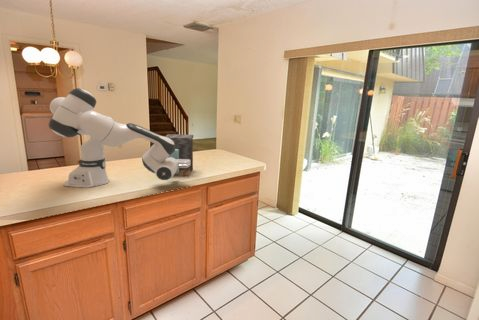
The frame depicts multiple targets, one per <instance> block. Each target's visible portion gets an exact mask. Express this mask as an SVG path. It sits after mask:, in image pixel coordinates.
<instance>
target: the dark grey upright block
mask: <svg viewBox="0 0 479 320" xmlns="http://www.w3.org/2000/svg"><path fill="white" fill-rule="evenodd" d="M164 136H165V137H168V138H170V139H171V140H172V141H173V142H174V143H175V149H179V159H189V160H190V161H191V165H190V166H189V167H188V168H179V173H178V174H177V173H175V174H174V176H173V177H184V176H187V177H189V175H190V173H191V172H193V170H194V160H193V159H194V156H193V155H194V152H193V151H194V147H193V145H194V143H193V142H194V141H193V138H194V134H178V133H175V134H174V133H173V134H172V133H171V134H170V133H167V134H166V135H164ZM169 157H170V156H169Z"/></svg>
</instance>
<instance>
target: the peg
mask: <svg viewBox="0 0 479 320" xmlns="http://www.w3.org/2000/svg"><path fill="white" fill-rule="evenodd" d="M170 157H172V158H175V159H179V149H175V152H174V153H172V154H171V155H170ZM175 173H177V174H178V173H179V168H178V170H177V171H176V172H175Z"/></svg>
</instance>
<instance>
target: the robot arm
mask: <svg viewBox="0 0 479 320" xmlns="http://www.w3.org/2000/svg"><path fill="white" fill-rule="evenodd" d="M96 104H97V99H96V98H95V97H94V95H93V94H92V93H91V92H89V91H88V90H85V89H83V88H79V87H78V88H76V87H75V88H74V89H72V90H70V92H68V95H66V97H65V96H59V97H55V98H54V99H52V100H51V102H50V104H49V110H50V112H51V113H52V115H53V116H52V118H50V120H49V121H48V128H49V129H51V132H53V133H54V134H56V135H57V136H60V137H63V138H74V137H76V136H81V135H83V136H89V139H88V140H87V141H85V142H83V143H82V144H81V146H80V156H81V159H79V160H78V161H77V162H76V164H78V166H77V167H76V168H74V169H72V171H70V172H69V174H68V178H67V180H65V182H64V183H63V186H64V187H74V188H88V189H89V188H93V187H97V186H102V185H105V184H107V183H109V182H110V179H109V176H108V174H107V168H106V165H107V164H106V158H105V152H104V150H105V149H104V147H105V146H108V147H111V148H114V147H115V148H116V147H120V146H123V145H125V144H126V143H128V142H130V141H132V140H135V139H144V140H146V141H148V142H150V143H153V144H152V145H151V146H150V147H149V149H148V150H146V152H144V154H143V155H142V156H141V160H142V165H143V166H144V168H146V169H147V170H148V171H149V172H151V173H153V174H155V176H156V178H158V179H159V180H161V181H168V180H170V179H172V178H173V177H175V176H174V174H175V172H176V171H177V170H178V168H188V167H189V166H190V165H191V161H190V160H189V159H175V158H172V157H169V156H170V155H171V154H172V153H174V152H175V143H174V142H173V141H172V140H171V139H170V138H168V137H165V136H166V135H161V134H160V133H156V132H154V131H151V130H149V129H147V128H145V127H143V126H140V125H138V124H135V123H132V122H129V123H120V122H117V121H114V119H113V117H111V116H107V115H104V114H102V113H99V112H97V111H95V110H93V109H94V108H95V107H96ZM168 157H169V158H168Z"/></svg>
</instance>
